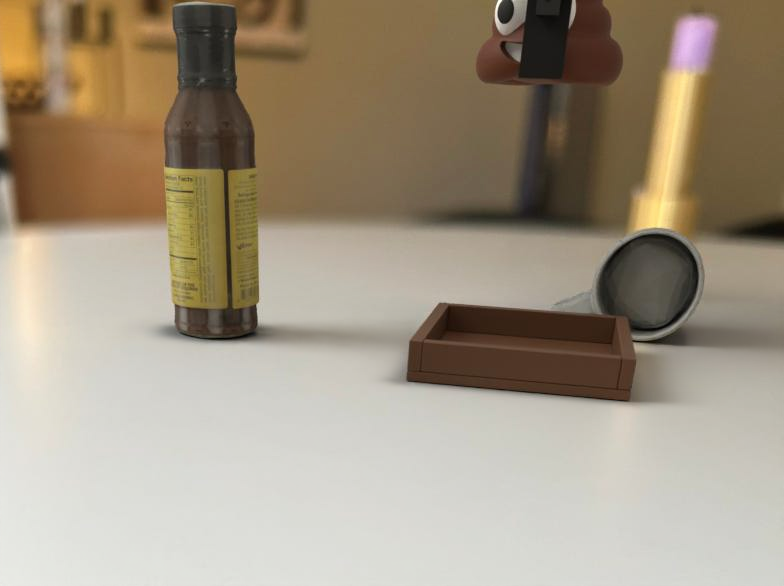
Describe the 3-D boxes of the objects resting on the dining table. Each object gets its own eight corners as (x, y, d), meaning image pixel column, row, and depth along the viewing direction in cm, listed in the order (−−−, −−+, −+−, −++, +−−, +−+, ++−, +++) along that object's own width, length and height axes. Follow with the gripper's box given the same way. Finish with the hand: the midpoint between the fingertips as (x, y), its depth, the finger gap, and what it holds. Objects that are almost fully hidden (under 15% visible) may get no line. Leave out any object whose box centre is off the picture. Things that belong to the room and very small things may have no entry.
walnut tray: (621, 351, 70) (627, 316, 69) (629, 401, 58) (636, 359, 57) (436, 336, 72) (439, 302, 71) (406, 380, 60) (409, 340, 59)
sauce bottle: (244, 321, 75) (244, 10, 66) (270, 338, 70) (275, 4, 61) (160, 324, 73) (149, 4, 64) (181, 342, 68) (172, -3, 59)
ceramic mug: (690, 326, 79) (710, 221, 75) (692, 345, 72) (714, 231, 68) (554, 316, 82) (567, 215, 78) (543, 334, 75) (557, 224, 71)
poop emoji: (636, 88, 69) (663, -77, 64) (591, 83, 63) (617, -100, 58) (504, 86, 74) (521, -67, 69) (450, 81, 68) (464, -87, 63)
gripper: (545, -296, 68) (503, 83, 78) (521, -453, 49) (470, 73, 60) (660, -302, 66) (601, 86, 77) (681, -466, 47) (599, 77, 58)
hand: (544, 80), depth 68 cm, fingers closed on poop emoji, 9 cm apart
